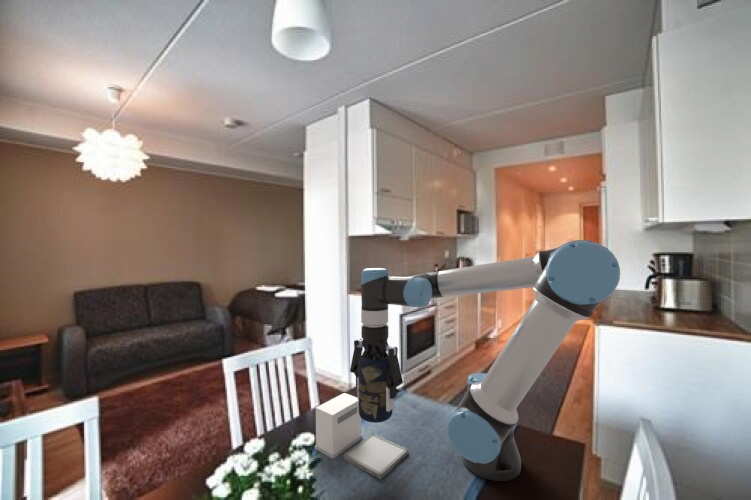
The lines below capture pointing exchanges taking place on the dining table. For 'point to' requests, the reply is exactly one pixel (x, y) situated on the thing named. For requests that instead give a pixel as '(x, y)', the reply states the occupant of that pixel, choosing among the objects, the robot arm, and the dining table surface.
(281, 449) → the dining table surface
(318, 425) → the unit
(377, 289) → the robot arm
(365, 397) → the canister
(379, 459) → the mat
